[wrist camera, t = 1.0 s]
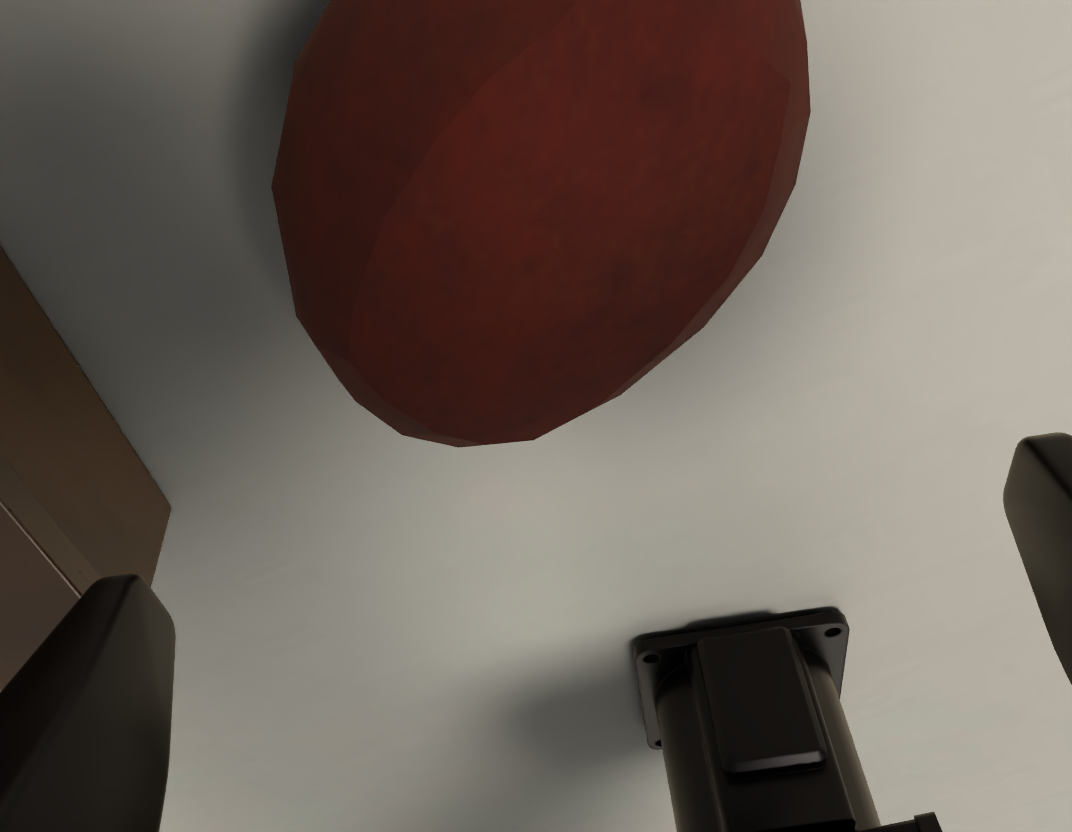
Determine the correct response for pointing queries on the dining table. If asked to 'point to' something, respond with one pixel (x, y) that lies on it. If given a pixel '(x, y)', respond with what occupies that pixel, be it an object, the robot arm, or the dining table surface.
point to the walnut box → (60, 483)
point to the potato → (529, 195)
